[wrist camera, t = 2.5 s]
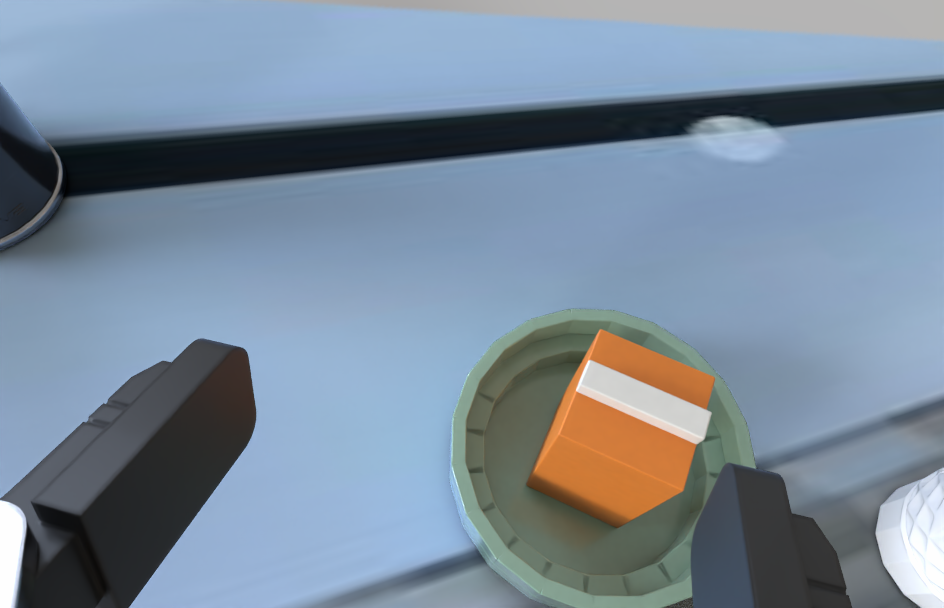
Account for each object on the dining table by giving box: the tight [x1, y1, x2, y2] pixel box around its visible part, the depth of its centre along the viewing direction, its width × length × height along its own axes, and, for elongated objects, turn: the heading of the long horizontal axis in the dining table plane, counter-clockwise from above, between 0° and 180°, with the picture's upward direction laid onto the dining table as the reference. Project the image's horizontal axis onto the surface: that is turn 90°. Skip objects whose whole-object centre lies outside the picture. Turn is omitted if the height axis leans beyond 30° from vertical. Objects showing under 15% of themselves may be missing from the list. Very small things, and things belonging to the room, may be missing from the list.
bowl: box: [449, 309, 756, 608], centre depth 31 cm, size 14×14×4 cm
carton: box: [526, 329, 715, 528], centre depth 28 cm, size 5×5×10 cm
